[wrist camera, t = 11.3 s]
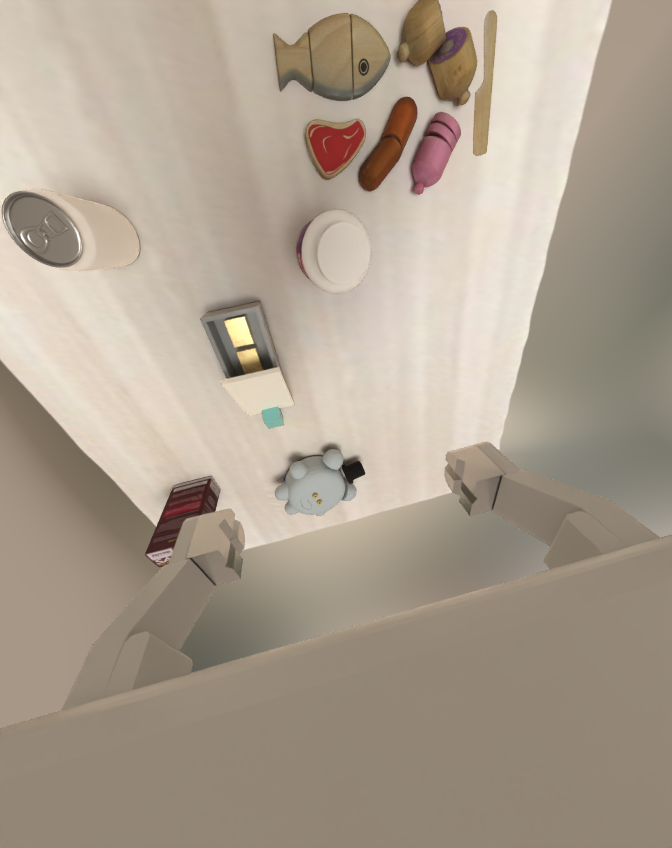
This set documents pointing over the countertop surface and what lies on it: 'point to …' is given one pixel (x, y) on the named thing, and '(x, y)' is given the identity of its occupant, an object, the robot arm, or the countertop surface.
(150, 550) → the supplement box
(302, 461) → the figurine
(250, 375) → the lid
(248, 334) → the brass block
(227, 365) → the tub
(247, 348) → the brass block
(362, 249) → the pill bottle
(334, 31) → the toy food set
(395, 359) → the countertop surface
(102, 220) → the can
